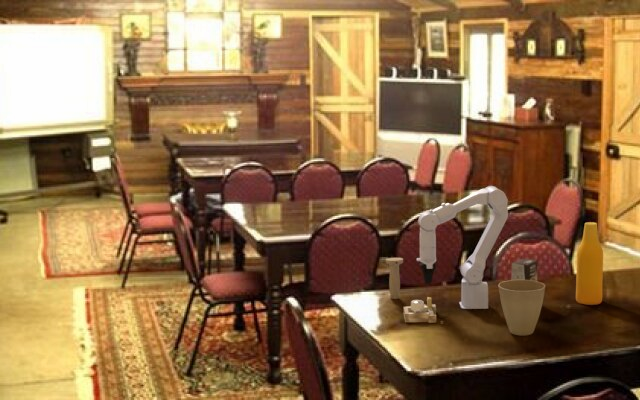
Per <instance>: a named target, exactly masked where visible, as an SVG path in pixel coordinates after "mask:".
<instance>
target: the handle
mask: <svg viewBox="0 0 640 400" xmlns="http://www.w3.org/2000/svg"><path fill="white" fill-rule="evenodd" d="M385 263H386V264H387V265H389V282H388V283H389V284H388V287H389V297H390V299H392V300H398V299H400V293H401V292H400V291H401V290H400V289H401V279H400V265H402V264H403V263H404V258H402V257H388V258H385Z"/></svg>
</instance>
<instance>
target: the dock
mask: <svg viewBox="0 0 640 400" xmlns="http://www.w3.org/2000/svg"><path fill="white" fill-rule="evenodd" d="M432 310H433V313H434V315H429V313H428V311H427V303H426V304H425V303H424V313H411V306H403V318H404V322H405V323H428V324H429V323H432V324H434V323H437V305H436V304H433V303H432Z"/></svg>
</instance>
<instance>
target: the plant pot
mask: <svg viewBox="0 0 640 400" xmlns="http://www.w3.org/2000/svg"><path fill="white" fill-rule="evenodd" d="M497 286H498V291H499V298H500V304H501V308H502V311H503V315H504V318H505V321H506V325H507V327H508V330H509V333H510V334H511V335H512V334H513V335H516V336H529V335H532V334H533V333H534V331H535V328H536V326H537V324H538V321H539V317H540V314H541V310H542V307H543V304H544V303H543V302H544V296H545V292H546V290H545V289H546V284H545V283H543V282H540V281H538V280H537V281H532V280H511V279H510V280H509V279H508V280H505V281H501V282H499V283H498V285H497Z"/></svg>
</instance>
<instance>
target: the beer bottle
mask: <svg viewBox="0 0 640 400" xmlns="http://www.w3.org/2000/svg"><path fill="white" fill-rule="evenodd" d="M603 273H604V251H603V247H602V245H601V243H600V240H599V232H598V223H597V222H593V221H592V222H591V221H589V222H585V223H584V227H583V234H582V239H581V242H580V244H579V246H578V249H577V252H576V277H575V279H576V282H575V284H576V285H575V301H576V302H577V303H578V304H581V305H588V306H595V305H599V304H601V303H602V301H603V279H604V276H603Z"/></svg>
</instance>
